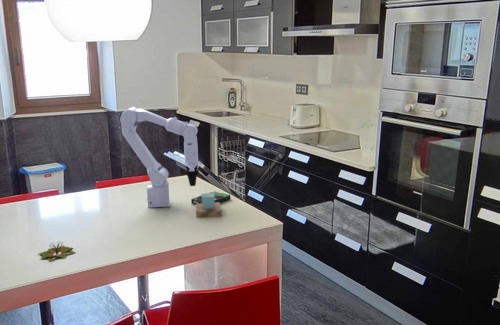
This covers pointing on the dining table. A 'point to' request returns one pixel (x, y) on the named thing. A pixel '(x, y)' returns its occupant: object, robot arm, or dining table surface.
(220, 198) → the disk drive
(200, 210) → the brown block
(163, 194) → the robot arm
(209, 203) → the teal cube
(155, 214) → the dining table surface
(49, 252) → the lily flower
